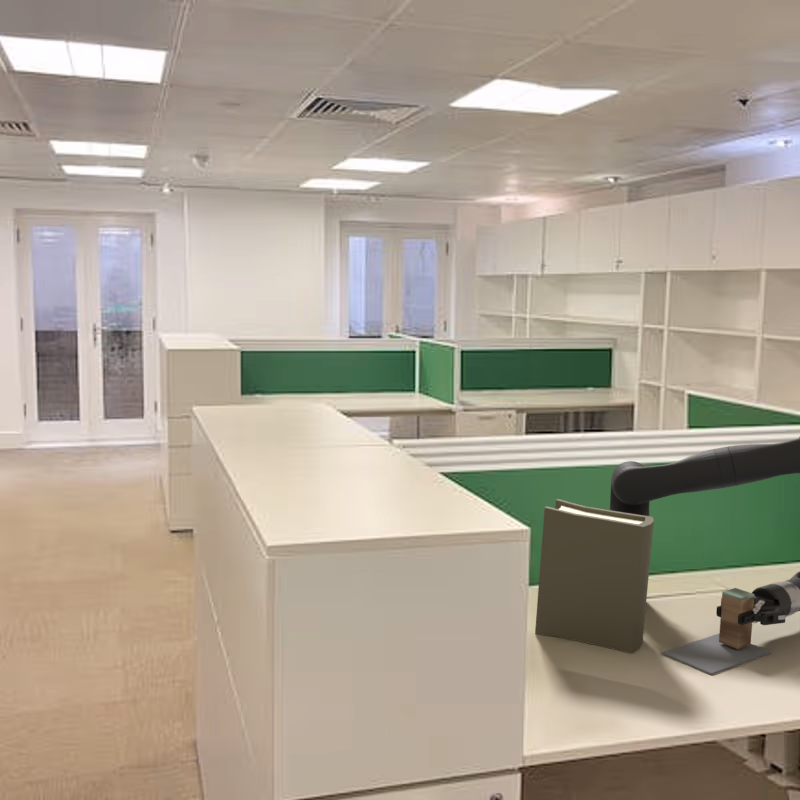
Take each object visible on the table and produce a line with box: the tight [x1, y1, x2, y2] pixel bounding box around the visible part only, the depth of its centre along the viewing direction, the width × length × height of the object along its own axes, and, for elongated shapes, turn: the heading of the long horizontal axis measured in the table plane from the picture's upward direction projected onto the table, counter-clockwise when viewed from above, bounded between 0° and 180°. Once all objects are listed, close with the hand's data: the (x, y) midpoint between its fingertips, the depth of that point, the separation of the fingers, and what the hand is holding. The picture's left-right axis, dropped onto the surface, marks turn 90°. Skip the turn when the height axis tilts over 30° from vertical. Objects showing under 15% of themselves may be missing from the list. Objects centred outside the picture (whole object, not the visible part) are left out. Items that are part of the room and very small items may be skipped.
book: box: [534, 498, 655, 654], centre depth 193 cm, size 22×9×28 cm, turn 63°
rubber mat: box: [661, 633, 772, 676], centre depth 187 cm, size 20×12×1 cm, turn 125°
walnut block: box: [718, 587, 754, 649], centre depth 190 cm, size 4×4×11 cm
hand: (729, 615), depth 188 cm, fingers closed on walnut block, 4 cm apart
